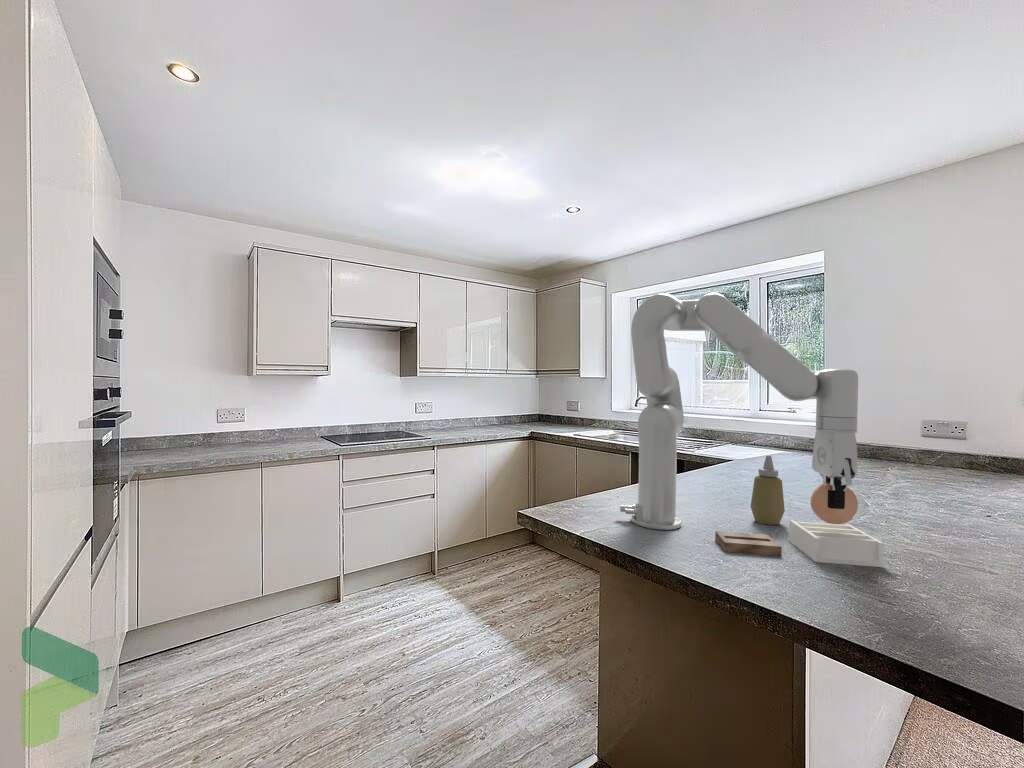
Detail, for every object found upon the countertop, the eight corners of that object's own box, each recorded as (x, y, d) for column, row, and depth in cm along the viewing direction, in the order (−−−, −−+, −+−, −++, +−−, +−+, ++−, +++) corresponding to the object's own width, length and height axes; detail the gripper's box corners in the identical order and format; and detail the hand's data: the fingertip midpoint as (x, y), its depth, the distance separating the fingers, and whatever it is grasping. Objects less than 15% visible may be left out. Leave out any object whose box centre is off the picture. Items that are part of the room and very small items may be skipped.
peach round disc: (845, 531, 102) (865, 495, 101) (805, 512, 103) (824, 476, 102) (843, 529, 103) (862, 494, 102) (803, 510, 104) (822, 475, 103)
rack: (815, 561, 97) (815, 538, 97) (788, 540, 110) (789, 520, 110) (883, 567, 95) (883, 543, 95) (848, 545, 108) (848, 524, 108)
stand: (724, 551, 102) (724, 542, 102) (715, 539, 110) (715, 531, 110) (781, 555, 100) (781, 546, 100) (767, 543, 108) (767, 534, 108)
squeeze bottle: (775, 518, 128) (777, 454, 128) (790, 527, 120) (792, 458, 120) (745, 517, 129) (747, 452, 129) (757, 526, 121) (759, 457, 121)
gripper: (802, 421, 111) (800, 497, 111) (835, 427, 95) (833, 516, 96) (836, 422, 109) (834, 499, 109) (876, 428, 94) (873, 518, 94)
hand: (834, 507), depth 102 cm, fingers closed on peach round disc, 1 cm apart
